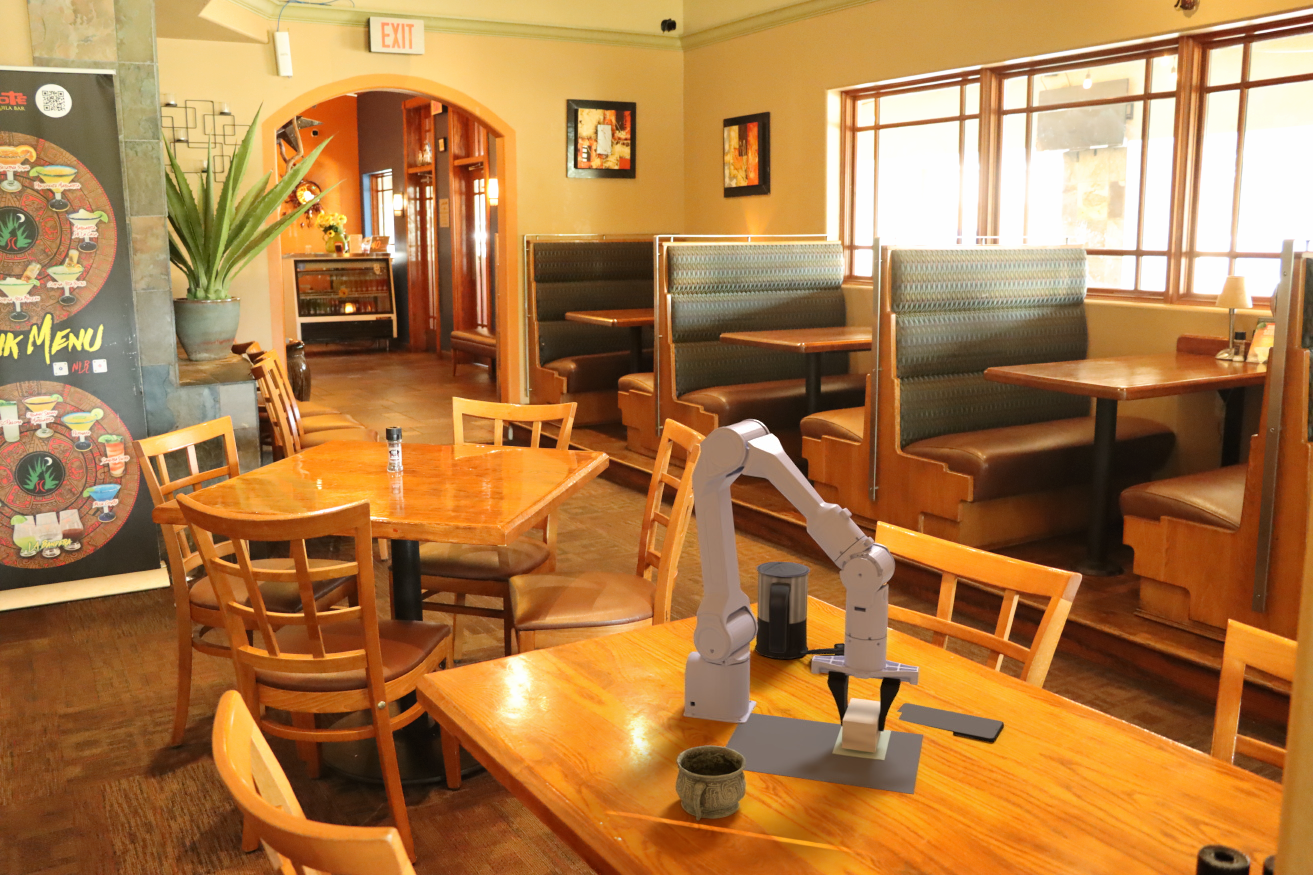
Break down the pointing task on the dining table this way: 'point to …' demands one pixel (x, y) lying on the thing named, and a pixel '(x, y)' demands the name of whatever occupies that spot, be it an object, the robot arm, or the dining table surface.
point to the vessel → (710, 781)
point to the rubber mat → (826, 753)
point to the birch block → (861, 725)
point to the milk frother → (784, 612)
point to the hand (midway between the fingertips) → (862, 725)
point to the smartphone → (952, 722)
